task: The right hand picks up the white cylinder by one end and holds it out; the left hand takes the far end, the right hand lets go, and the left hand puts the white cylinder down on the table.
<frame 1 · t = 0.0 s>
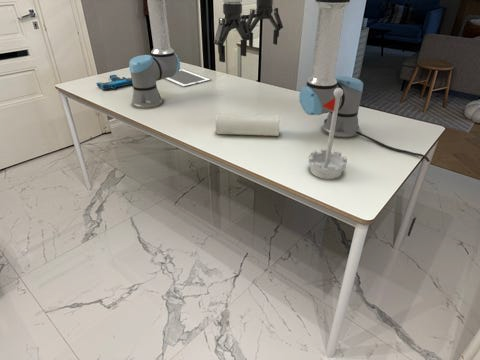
left hand: (233, 58, 145), 28 cm above the table, tool pointing down, fingers open, 13 cm apart
right hand: (263, 45, 167), 28 cm above the table, tool pointing down, fingers open, 13 cm apart
tablet: (183, 77, 217), on the table
submachine gun: (125, 82, 210), on the table
white cylinder: (247, 133, 147), on the table
flag stand: (325, 171, 121), on the table
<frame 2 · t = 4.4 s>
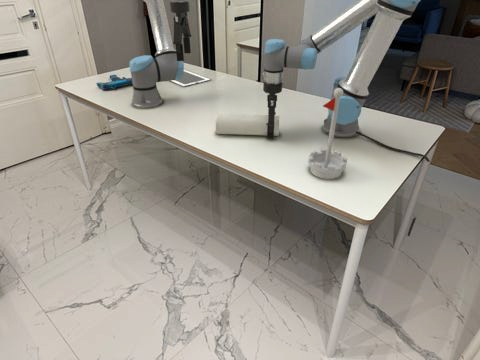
left hand: (184, 56, 145), 29 cm above the table, tool pointing down, fingers open, 13 cm apart
right hand: (270, 133, 146), 0 cm above the table, tool pointing down, fingers closed on white cylinder, 8 cm apart
white cylinder: (247, 133, 147), on the table, touching right hand
everything else where it was.
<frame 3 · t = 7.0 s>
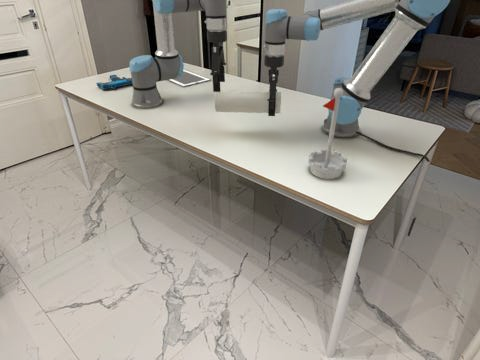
left hand: (219, 86, 138), 20 cm above the table, tool pointing down, fingers open, 13 cm apart
right hand: (271, 111, 141), 11 cm above the table, tool pointing down, fingers closed on white cylinder, 8 cm apart
white cylinder: (248, 111, 142), point 10 cm above the table, touching right hand
everything else where it was.
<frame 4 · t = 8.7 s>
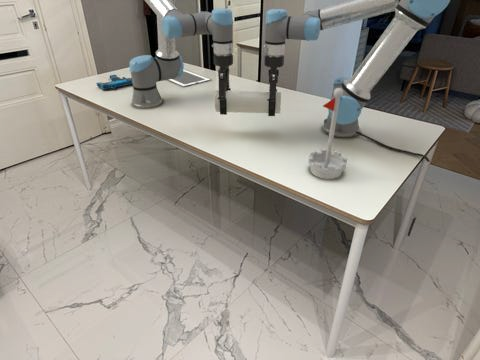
left hand: (224, 110, 142), 11 cm above the table, tool pointing down, fingers closed on white cylinder, 8 cm apart
right hand: (271, 111, 141), 11 cm above the table, tool pointing down, fingers closed on white cylinder, 8 cm apart
white cylinder: (248, 111, 142), point 10 cm above the table, touching right hand, left hand
everything else where it was.
when the right hand's fingers open (11 cm above the table, at t = 9.6 s): white cylinder stays where it is, held by the left hand.
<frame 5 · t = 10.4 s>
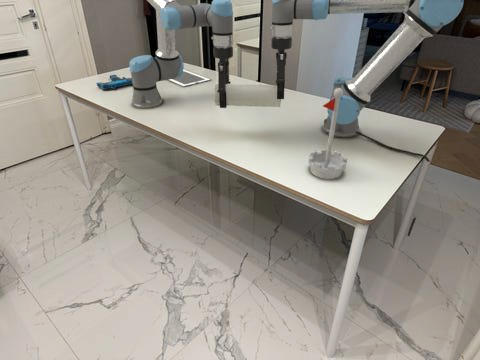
left hand: (224, 103, 141), 13 cm above the table, tool pointing down, fingers closed on white cylinder, 8 cm apart
right hand: (280, 93, 136), 18 cm above the table, tool pointing down, fingers open, 13 cm apart
white cylinder: (247, 105, 140), point 13 cm above the table, touching left hand
everything else where it was.
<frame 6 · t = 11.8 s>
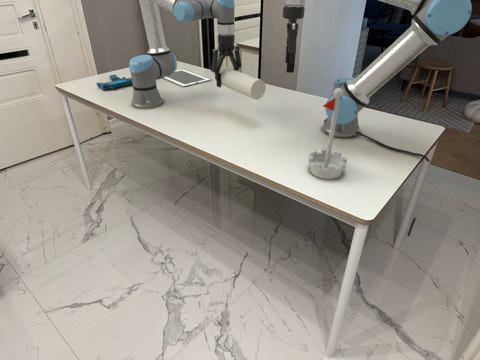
left hand: (226, 84, 162), 13 cm above the table, tool pointing down, fingers closed on white cylinder, 8 cm apart
right hand: (289, 67, 131), 29 cm above the table, tool pointing down, fingers open, 13 cm apart
white cylinder: (239, 91, 156), point 13 cm above the table, touching left hand
everything else where it was.
when the left hand's fingers open (2 cm above the table, at t = 15.3 s): white cylinder drops 2 cm, on the table.
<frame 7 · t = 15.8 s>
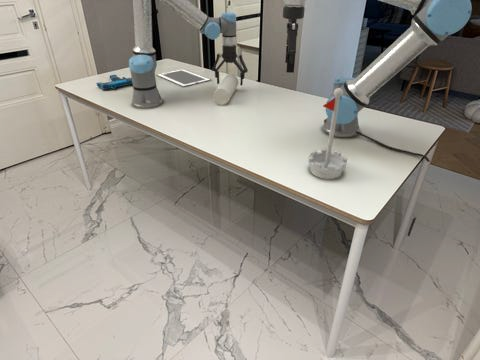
left hand: (229, 84, 194), 4 cm above the table, tool pointing down, fingers open, 13 cm apart
right hand: (289, 67, 131), 29 cm above the table, tool pointing down, fingers open, 13 cm apart
white cylinder: (226, 96, 188), on the table
everything else where it was.
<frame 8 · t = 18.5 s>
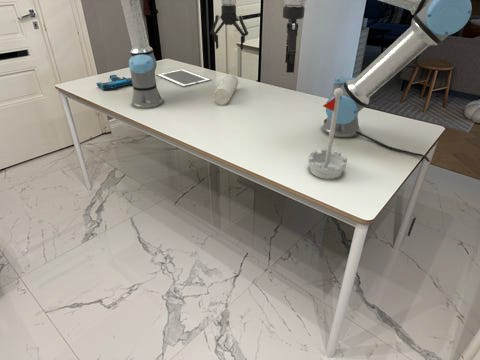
left hand: (229, 48, 183), 23 cm above the table, tool pointing down, fingers open, 13 cm apart
right hand: (289, 67, 131), 29 cm above the table, tool pointing down, fingers open, 13 cm apart
nothing on the table moved.
at the end: white cylinder inside the target area (9.8 cm from its centre), on the table; the left hand is holding nothing; the right hand is holding nothing; white cylinder at rest at the end (0.0 cm/s) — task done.
